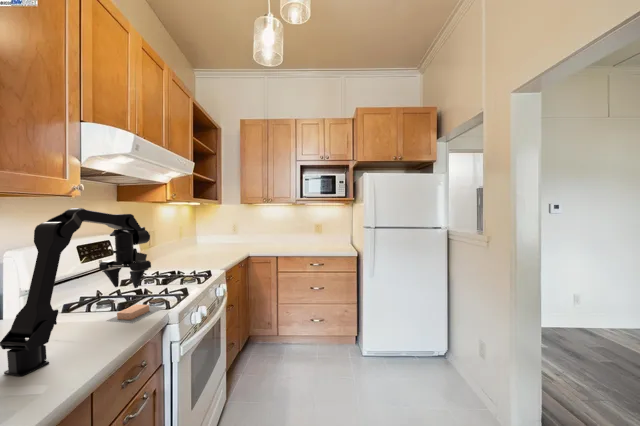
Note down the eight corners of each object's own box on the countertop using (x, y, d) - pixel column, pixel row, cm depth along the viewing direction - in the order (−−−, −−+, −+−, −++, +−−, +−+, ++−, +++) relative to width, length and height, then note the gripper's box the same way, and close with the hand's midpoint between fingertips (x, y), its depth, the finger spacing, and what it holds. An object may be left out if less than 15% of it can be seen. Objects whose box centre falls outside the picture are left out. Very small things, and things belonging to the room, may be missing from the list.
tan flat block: (130, 313, 108) (149, 304, 117) (117, 312, 109) (136, 304, 118) (131, 319, 108) (149, 310, 117) (117, 319, 109) (136, 310, 118)
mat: (132, 324, 105) (132, 323, 105) (105, 322, 108) (105, 320, 108) (165, 308, 121) (165, 307, 121) (141, 306, 123) (141, 305, 123)
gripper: (161, 244, 116) (162, 282, 117) (123, 243, 121) (125, 281, 121) (137, 248, 105) (139, 290, 106) (97, 247, 110) (99, 288, 110)
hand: (126, 287), depth 111 cm, fingers open, 9 cm apart
